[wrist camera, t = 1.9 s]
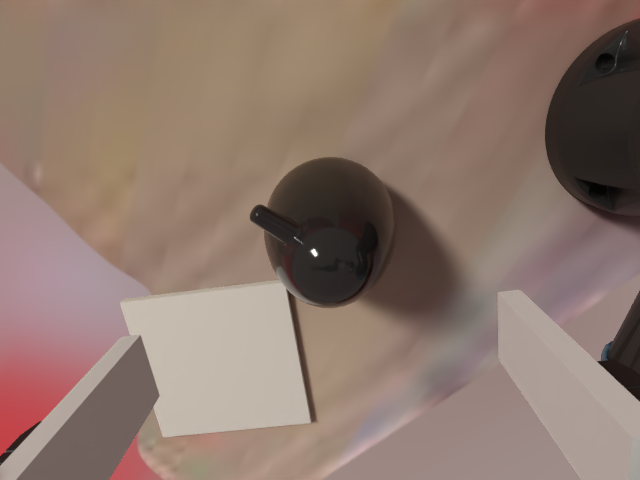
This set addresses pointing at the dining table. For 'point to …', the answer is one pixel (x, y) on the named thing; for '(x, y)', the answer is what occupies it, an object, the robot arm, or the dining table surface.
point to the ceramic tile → (222, 358)
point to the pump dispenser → (328, 231)
